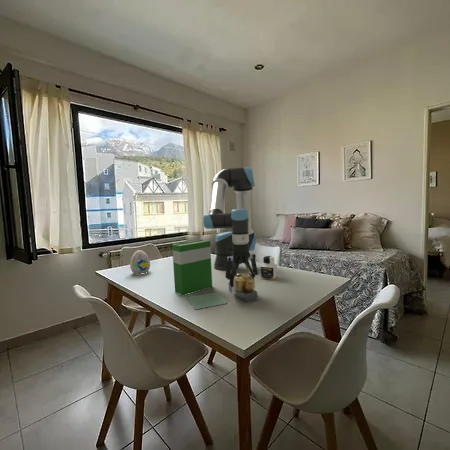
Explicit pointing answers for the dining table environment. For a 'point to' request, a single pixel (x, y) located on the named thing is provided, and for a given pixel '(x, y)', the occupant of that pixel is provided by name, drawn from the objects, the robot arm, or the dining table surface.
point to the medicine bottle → (268, 268)
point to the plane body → (245, 292)
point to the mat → (206, 300)
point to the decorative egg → (140, 262)
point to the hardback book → (192, 266)
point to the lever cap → (243, 281)
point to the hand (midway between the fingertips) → (242, 291)
